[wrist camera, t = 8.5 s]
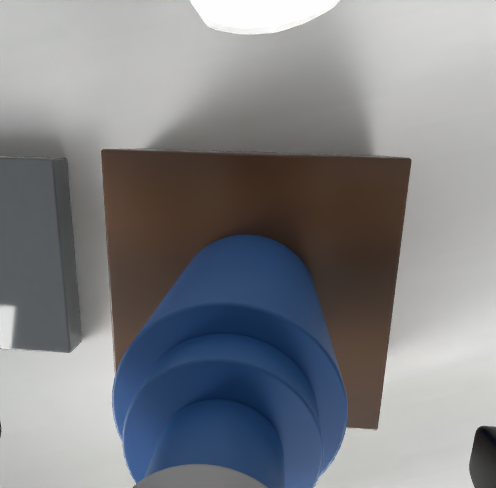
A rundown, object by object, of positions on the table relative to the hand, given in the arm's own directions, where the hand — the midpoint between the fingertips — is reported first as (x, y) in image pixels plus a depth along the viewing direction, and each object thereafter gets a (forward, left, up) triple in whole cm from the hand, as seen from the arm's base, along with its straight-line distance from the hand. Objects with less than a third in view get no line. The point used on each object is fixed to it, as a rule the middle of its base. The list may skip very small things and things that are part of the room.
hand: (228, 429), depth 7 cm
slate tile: (0, +13, -11) cm, 17 cm away
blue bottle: (0, 0, -7) cm, 7 cm away
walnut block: (0, 0, -11) cm, 11 cm away
